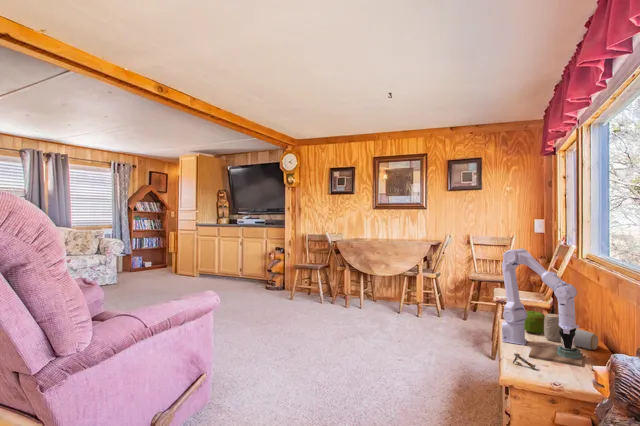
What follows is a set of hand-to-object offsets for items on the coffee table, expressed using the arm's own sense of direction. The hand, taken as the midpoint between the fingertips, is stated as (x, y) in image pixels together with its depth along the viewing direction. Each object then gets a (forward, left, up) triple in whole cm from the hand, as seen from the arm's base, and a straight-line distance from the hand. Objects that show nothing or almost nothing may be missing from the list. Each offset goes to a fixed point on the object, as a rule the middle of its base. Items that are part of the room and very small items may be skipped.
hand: (568, 346), depth 149 cm
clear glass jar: (0, 0, -3) cm, 3 cm away
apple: (-16, +30, -5) cm, 34 cm away
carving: (-7, +21, -5) cm, 23 cm away
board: (-5, -1, -4) cm, 6 cm away
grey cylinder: (+5, +18, -5) cm, 19 cm away
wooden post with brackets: (-14, -20, -5) cm, 25 cm away
